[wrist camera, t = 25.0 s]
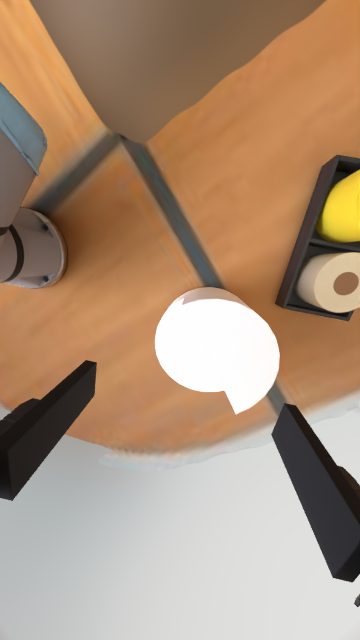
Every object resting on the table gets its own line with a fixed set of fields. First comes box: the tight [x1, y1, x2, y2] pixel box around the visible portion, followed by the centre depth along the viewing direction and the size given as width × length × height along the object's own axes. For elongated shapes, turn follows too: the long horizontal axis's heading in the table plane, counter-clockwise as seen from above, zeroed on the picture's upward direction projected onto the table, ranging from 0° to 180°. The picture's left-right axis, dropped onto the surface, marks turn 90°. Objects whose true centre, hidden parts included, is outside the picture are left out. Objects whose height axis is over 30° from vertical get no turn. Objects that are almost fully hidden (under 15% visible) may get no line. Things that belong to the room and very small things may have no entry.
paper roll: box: [294, 252, 360, 313], centre depth 33 cm, size 9×9×7 cm
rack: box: [275, 155, 360, 321], centre depth 34 cm, size 12×24×4 cm, turn 169°
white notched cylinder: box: [155, 287, 280, 414], centre depth 36 cm, size 20×20×13 cm
